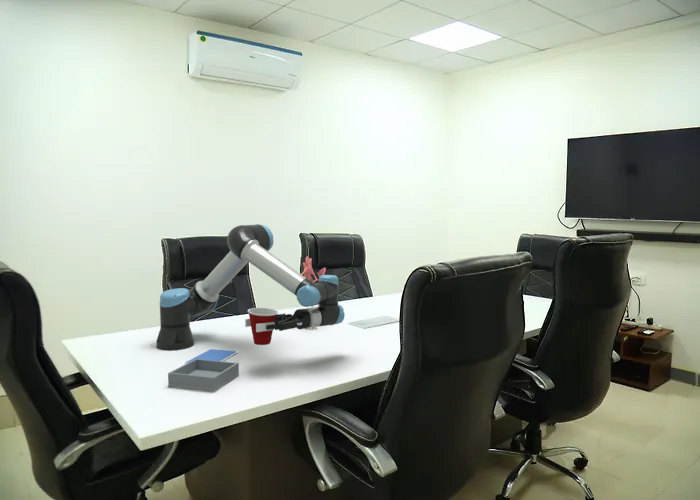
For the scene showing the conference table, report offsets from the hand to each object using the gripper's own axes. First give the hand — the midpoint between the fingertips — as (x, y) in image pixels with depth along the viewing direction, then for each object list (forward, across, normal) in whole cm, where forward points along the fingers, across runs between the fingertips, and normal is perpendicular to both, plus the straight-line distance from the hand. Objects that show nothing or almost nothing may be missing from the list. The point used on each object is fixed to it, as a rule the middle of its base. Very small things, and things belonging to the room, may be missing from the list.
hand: (251, 325), depth 179 cm
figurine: (-53, +51, -17) cm, 76 cm away
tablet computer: (+5, +24, -18) cm, 31 cm away
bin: (+17, 0, -17) cm, 24 cm away
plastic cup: (-5, 0, -7) cm, 9 cm away
